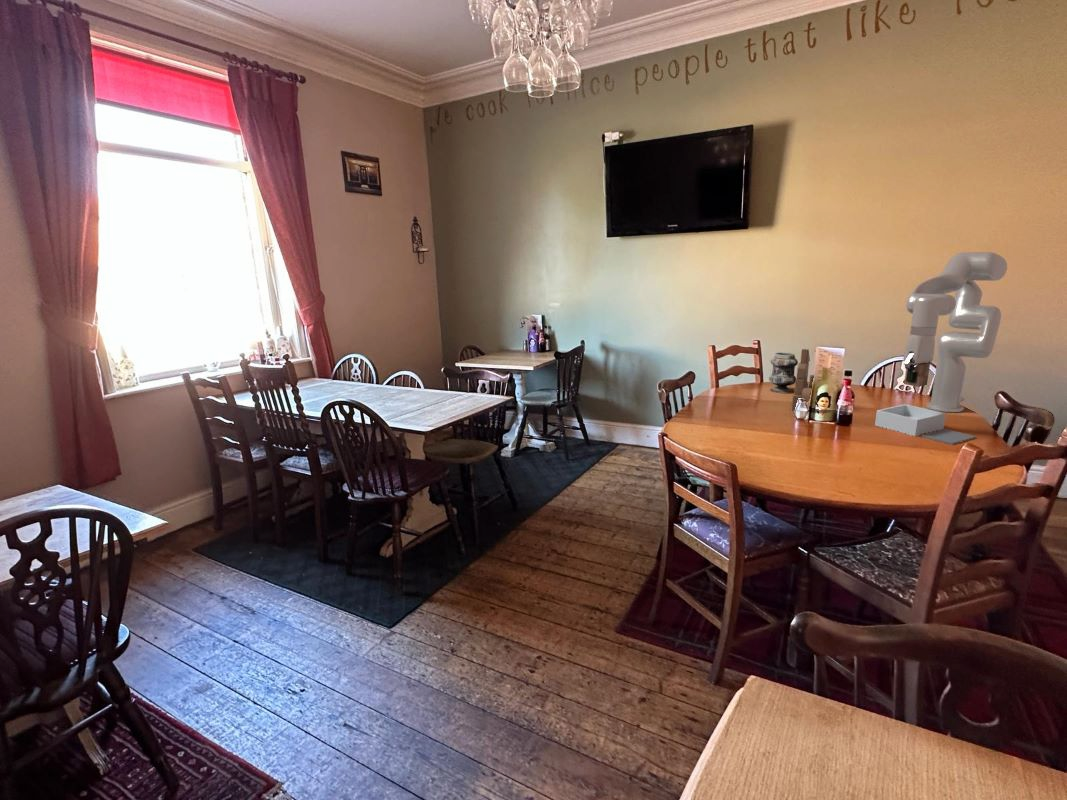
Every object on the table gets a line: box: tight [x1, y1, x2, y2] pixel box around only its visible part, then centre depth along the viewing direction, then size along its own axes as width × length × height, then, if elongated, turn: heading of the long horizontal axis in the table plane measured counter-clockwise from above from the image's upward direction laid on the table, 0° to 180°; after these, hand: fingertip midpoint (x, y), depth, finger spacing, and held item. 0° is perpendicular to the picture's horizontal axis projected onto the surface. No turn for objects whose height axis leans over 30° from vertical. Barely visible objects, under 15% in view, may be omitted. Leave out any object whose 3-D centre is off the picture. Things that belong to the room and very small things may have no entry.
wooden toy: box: [791, 348, 815, 412], centre depth 228 cm, size 16×7×25 cm, turn 144°
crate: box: [874, 403, 947, 437], centre depth 201 cm, size 17×15×6 cm
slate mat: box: [920, 428, 977, 445], centre depth 189 cm, size 14×10×1 cm
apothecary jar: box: [768, 351, 799, 394], centre depth 257 cm, size 12×12×18 cm
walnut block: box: [903, 361, 931, 388], centre depth 196 cm, size 5×5×8 cm
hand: (915, 380), depth 197 cm, fingers closed on walnut block, 5 cm apart
